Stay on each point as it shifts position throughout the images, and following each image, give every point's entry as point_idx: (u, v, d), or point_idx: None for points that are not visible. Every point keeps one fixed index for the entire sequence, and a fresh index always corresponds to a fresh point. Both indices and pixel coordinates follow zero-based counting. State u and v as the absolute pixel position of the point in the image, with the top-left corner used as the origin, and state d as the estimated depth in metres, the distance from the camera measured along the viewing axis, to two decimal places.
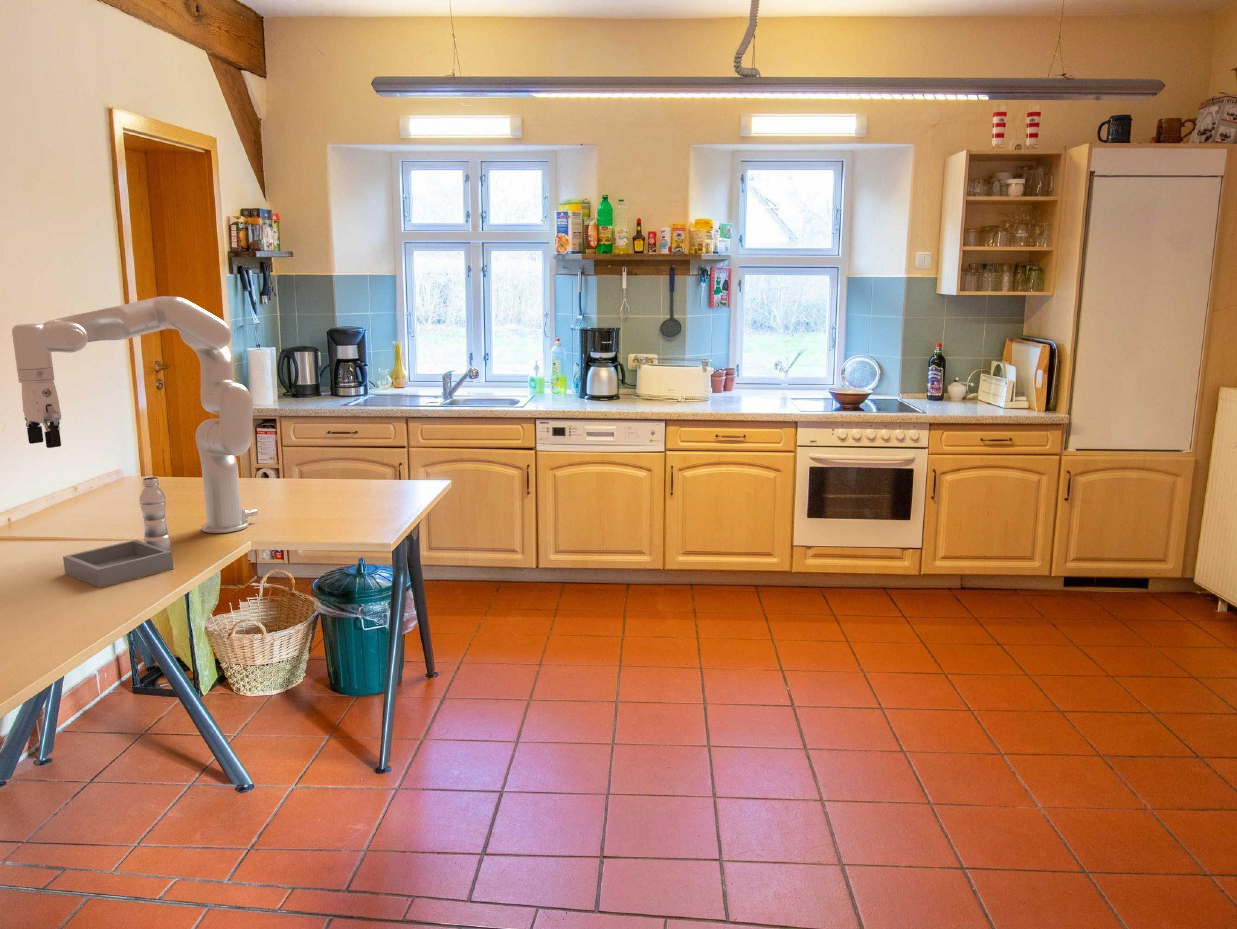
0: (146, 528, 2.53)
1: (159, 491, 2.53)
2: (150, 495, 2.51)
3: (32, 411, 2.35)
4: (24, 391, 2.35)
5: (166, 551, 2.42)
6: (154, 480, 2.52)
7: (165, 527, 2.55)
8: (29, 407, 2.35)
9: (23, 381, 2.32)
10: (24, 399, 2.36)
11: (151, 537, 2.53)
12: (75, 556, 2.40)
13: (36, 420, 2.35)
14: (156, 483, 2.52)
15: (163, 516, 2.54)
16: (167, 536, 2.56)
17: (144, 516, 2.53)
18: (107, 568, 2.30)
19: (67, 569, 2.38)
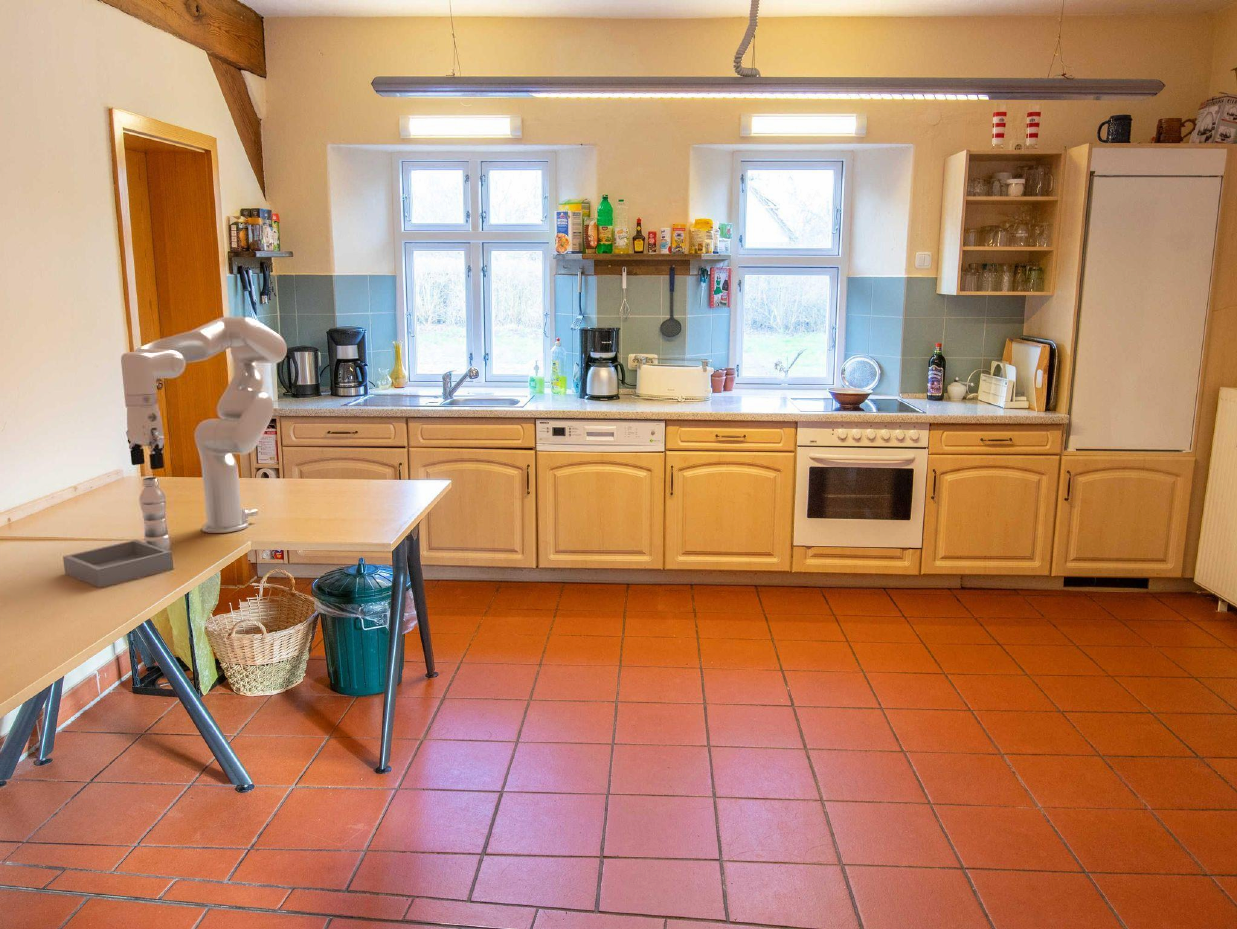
0: (146, 528, 2.53)
1: (159, 491, 2.53)
2: (150, 495, 2.51)
3: (137, 434, 2.48)
4: (130, 415, 2.48)
5: (166, 551, 2.42)
6: (154, 480, 2.52)
7: (165, 527, 2.55)
8: (134, 431, 2.48)
9: (130, 406, 2.45)
10: (129, 423, 2.49)
11: (151, 537, 2.53)
12: (75, 556, 2.40)
13: (141, 443, 2.48)
14: (156, 483, 2.52)
15: (163, 516, 2.54)
16: (167, 536, 2.56)
17: (144, 516, 2.53)
18: (107, 568, 2.30)
19: (67, 569, 2.38)
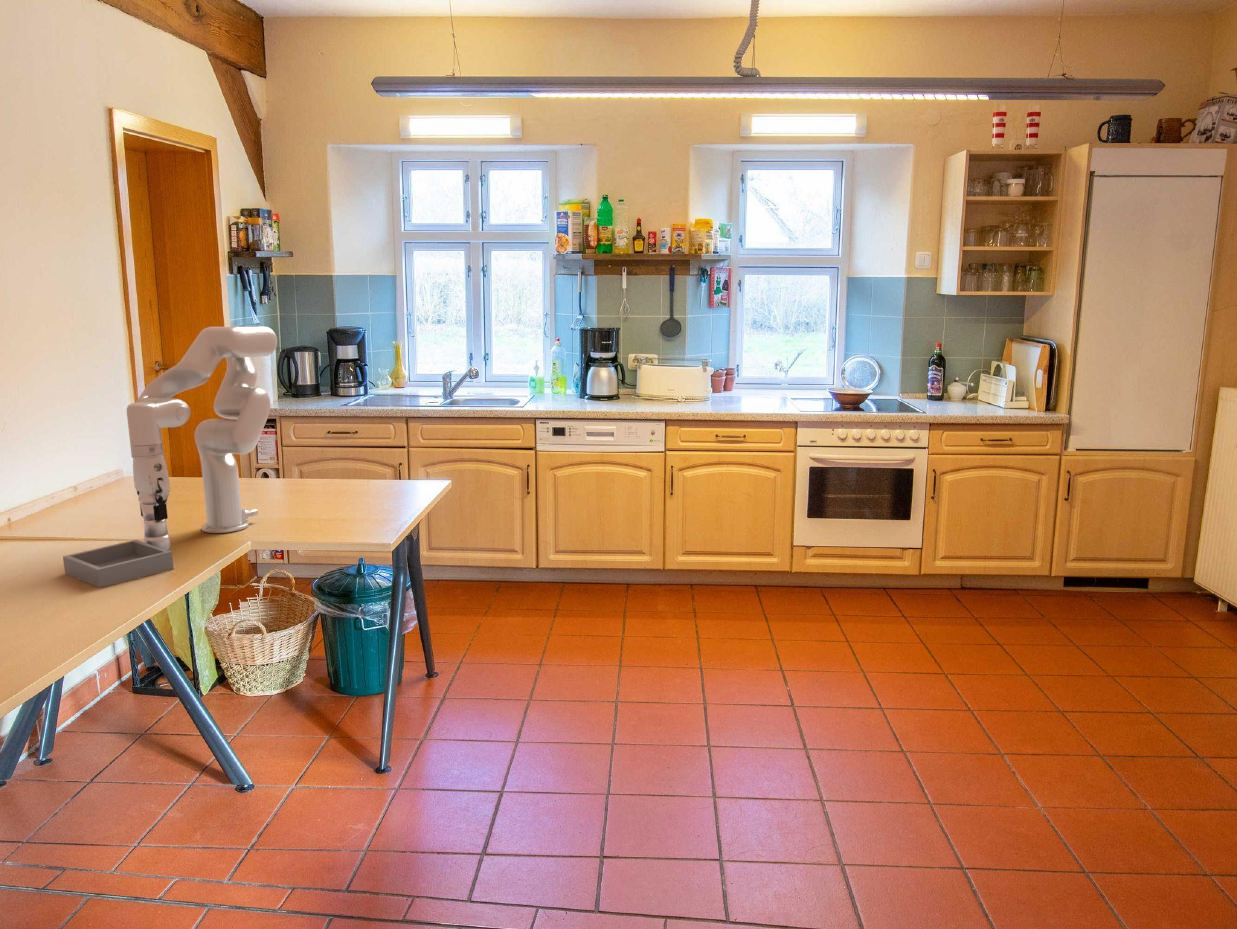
0: (146, 528, 2.53)
1: (159, 491, 2.53)
2: (150, 495, 2.51)
3: (144, 484, 2.50)
4: (136, 465, 2.51)
5: (166, 551, 2.42)
6: None
7: (165, 527, 2.55)
8: (141, 480, 2.51)
9: (136, 456, 2.48)
10: (136, 472, 2.52)
11: (151, 537, 2.53)
12: (75, 556, 2.40)
13: (147, 492, 2.51)
14: None
15: None
16: (167, 536, 2.56)
17: (144, 516, 2.53)
18: (107, 568, 2.30)
19: (67, 569, 2.38)
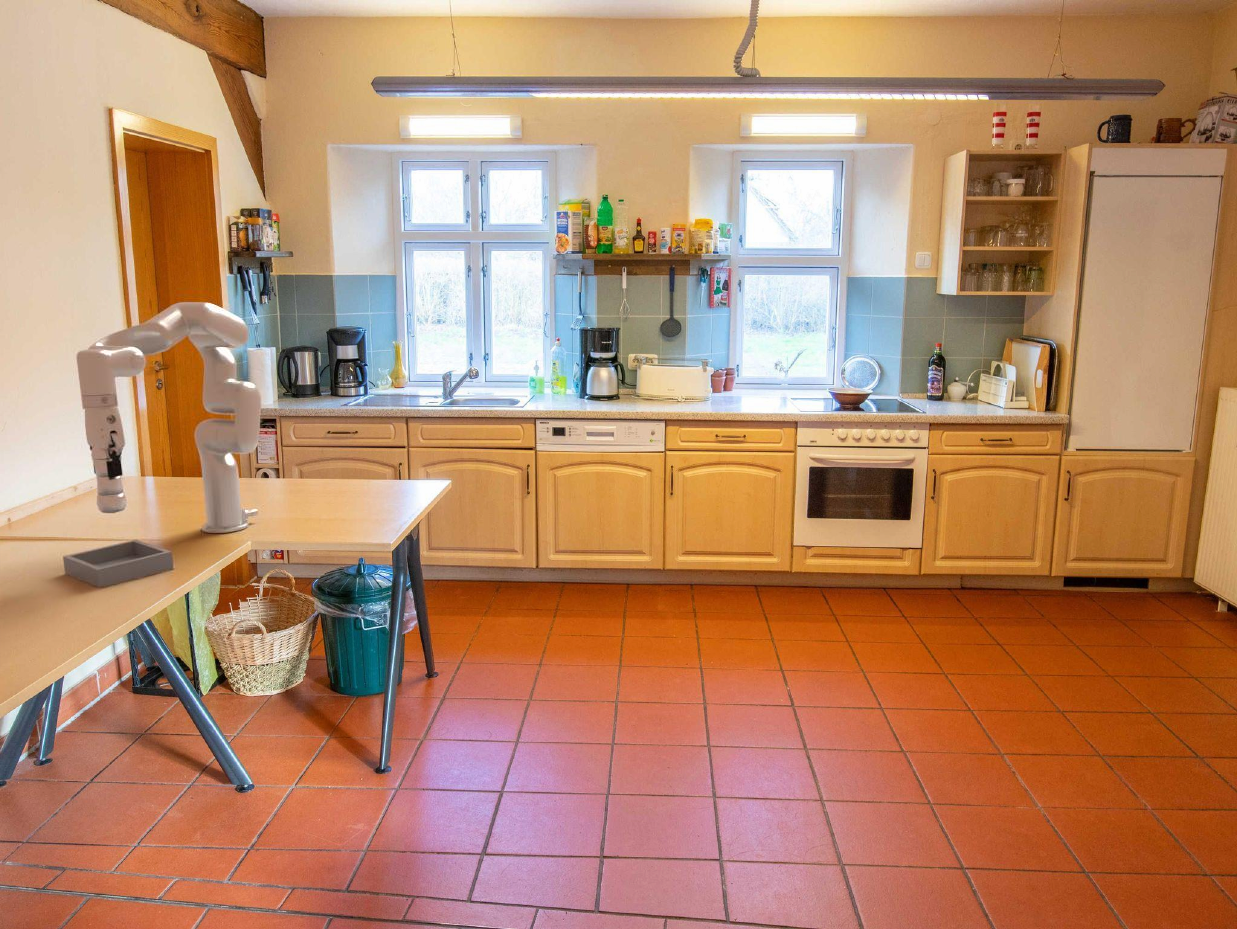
0: (99, 486, 2.34)
1: (113, 446, 2.34)
2: (103, 450, 2.32)
3: (96, 438, 2.32)
4: (88, 417, 2.32)
5: (166, 551, 2.42)
6: None
7: (120, 485, 2.37)
8: (93, 433, 2.32)
9: (87, 407, 2.29)
10: (87, 425, 2.33)
11: (104, 496, 2.35)
12: (75, 556, 2.40)
13: (100, 447, 2.32)
14: None
15: None
16: (122, 495, 2.37)
17: (97, 472, 2.34)
18: (107, 568, 2.30)
19: (67, 569, 2.38)
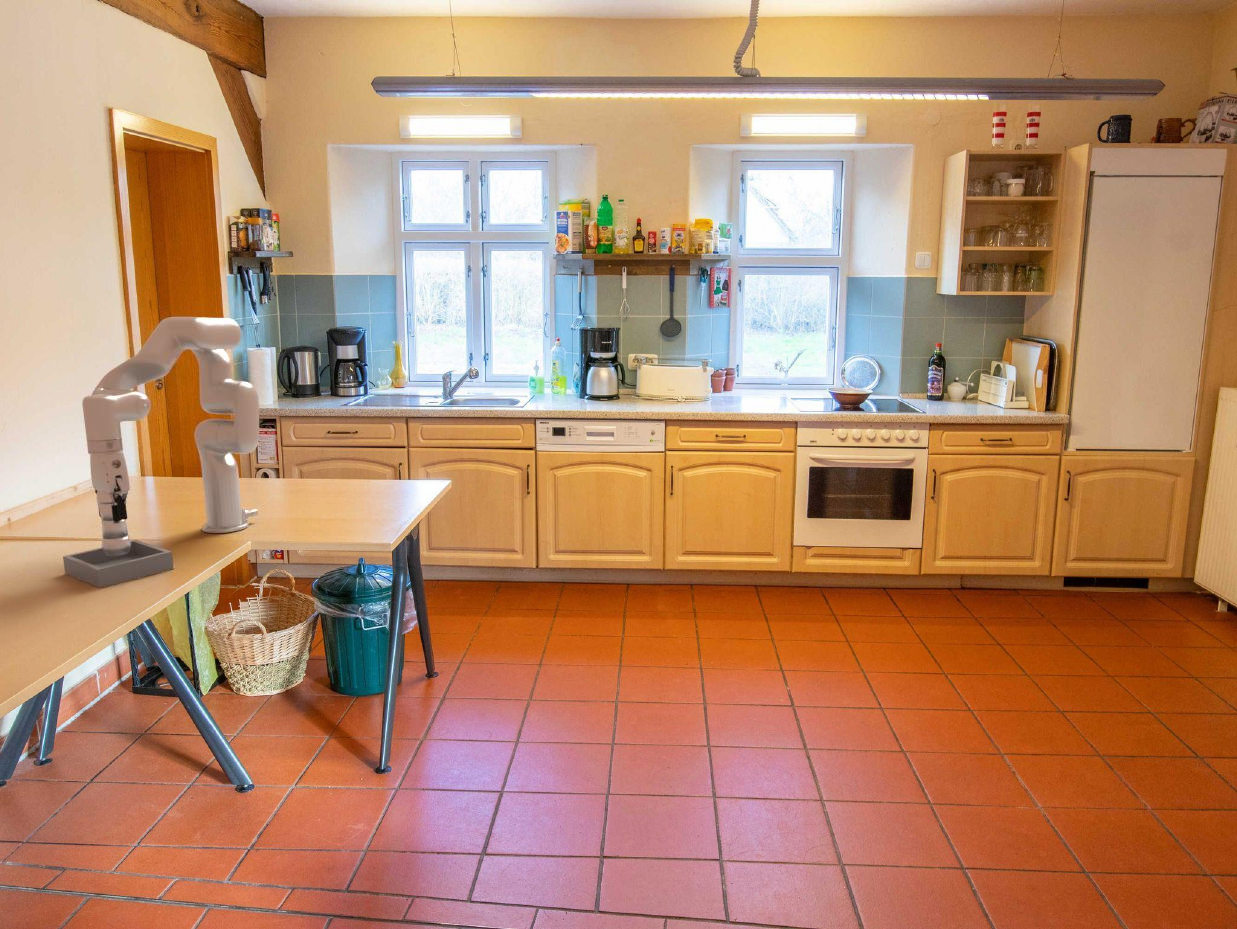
0: (104, 529, 2.37)
1: (118, 489, 2.36)
2: (108, 494, 2.35)
3: (101, 482, 2.34)
4: (93, 462, 2.35)
5: (166, 551, 2.42)
6: None
7: (125, 528, 2.39)
8: (98, 478, 2.34)
9: (93, 453, 2.31)
10: (93, 469, 2.36)
11: (109, 539, 2.37)
12: (75, 556, 2.40)
13: (105, 491, 2.34)
14: None
15: None
16: (127, 538, 2.39)
17: (102, 516, 2.36)
18: (107, 568, 2.30)
19: (67, 569, 2.38)
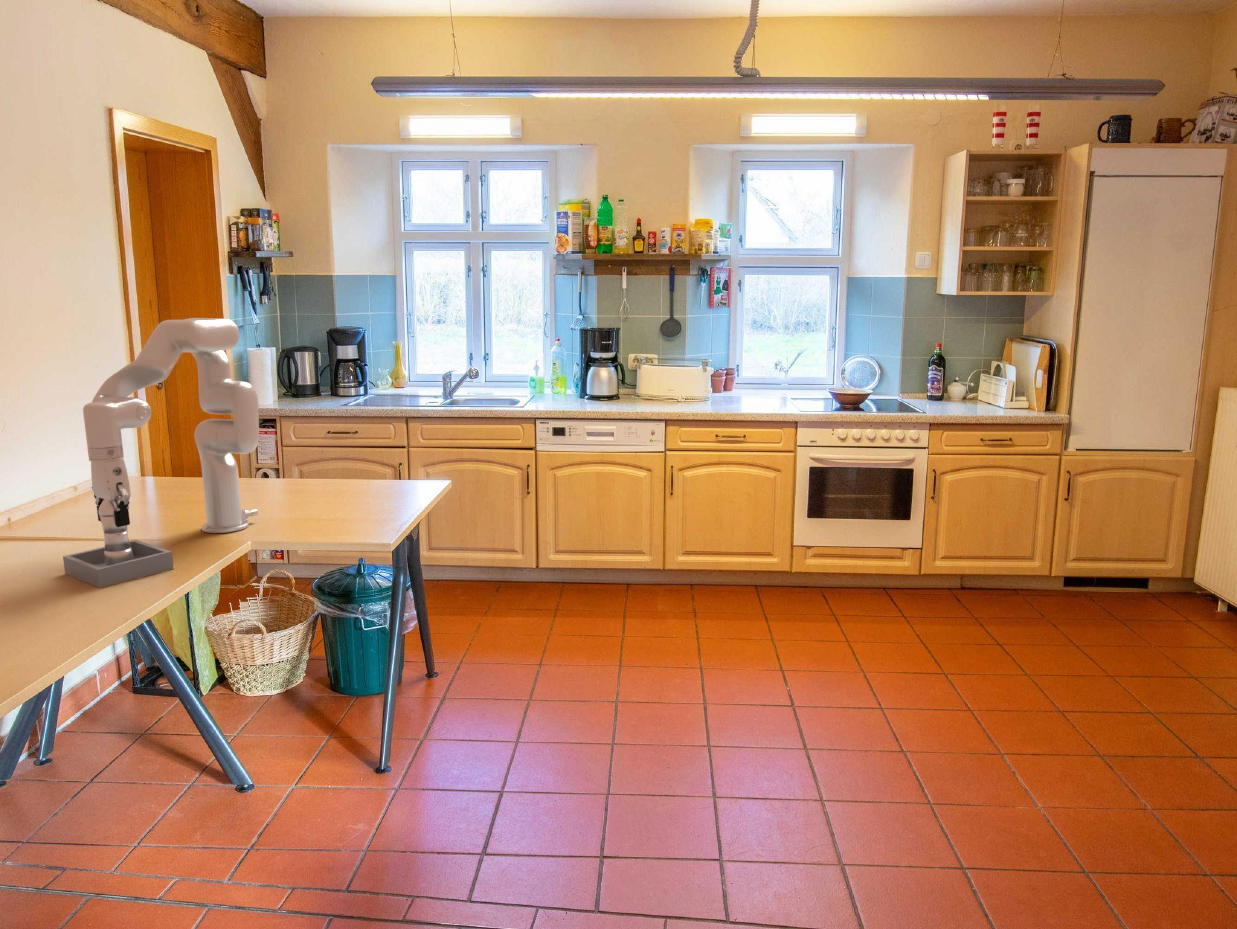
0: (106, 542, 2.37)
1: None
2: (110, 506, 2.35)
3: (102, 489, 2.34)
4: (94, 469, 2.35)
5: (166, 551, 2.42)
6: None
7: (127, 540, 2.40)
8: (99, 485, 2.35)
9: (94, 460, 2.32)
10: (94, 476, 2.36)
11: (111, 552, 2.37)
12: (75, 556, 2.40)
13: (106, 498, 2.34)
14: None
15: (124, 529, 2.39)
16: (129, 550, 2.40)
17: (104, 529, 2.37)
18: (107, 568, 2.30)
19: (67, 569, 2.38)
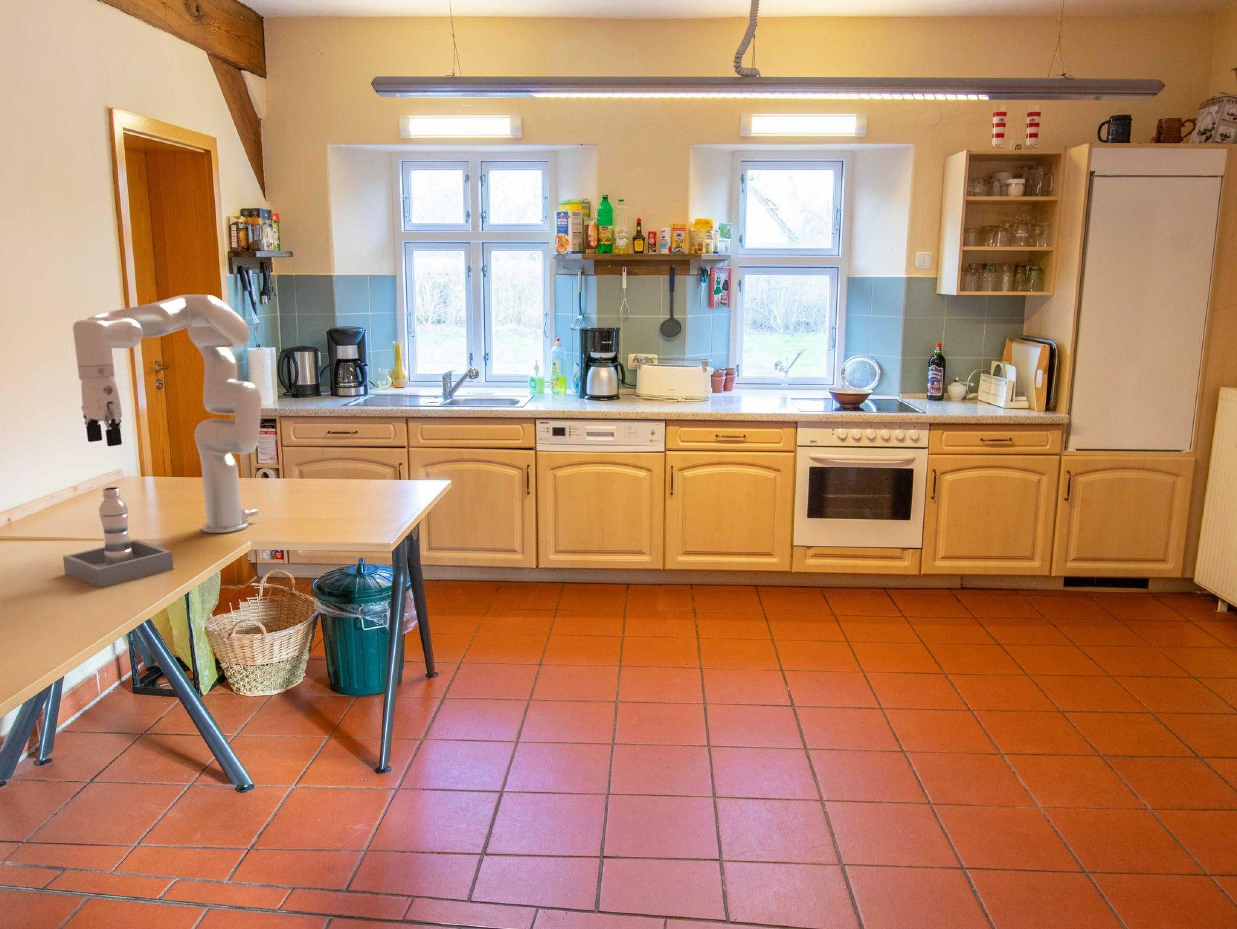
0: (106, 542, 2.37)
1: (120, 502, 2.37)
2: (110, 506, 2.35)
3: (93, 409, 2.30)
4: (84, 388, 2.31)
5: (166, 551, 2.42)
6: (114, 490, 2.36)
7: (127, 540, 2.40)
8: (89, 405, 2.31)
9: (84, 378, 2.28)
10: (84, 396, 2.32)
11: (111, 552, 2.37)
12: (75, 556, 2.40)
13: (97, 418, 2.31)
14: (117, 494, 2.37)
15: (124, 529, 2.39)
16: (129, 550, 2.40)
17: (104, 529, 2.37)
18: (107, 568, 2.30)
19: (67, 569, 2.38)
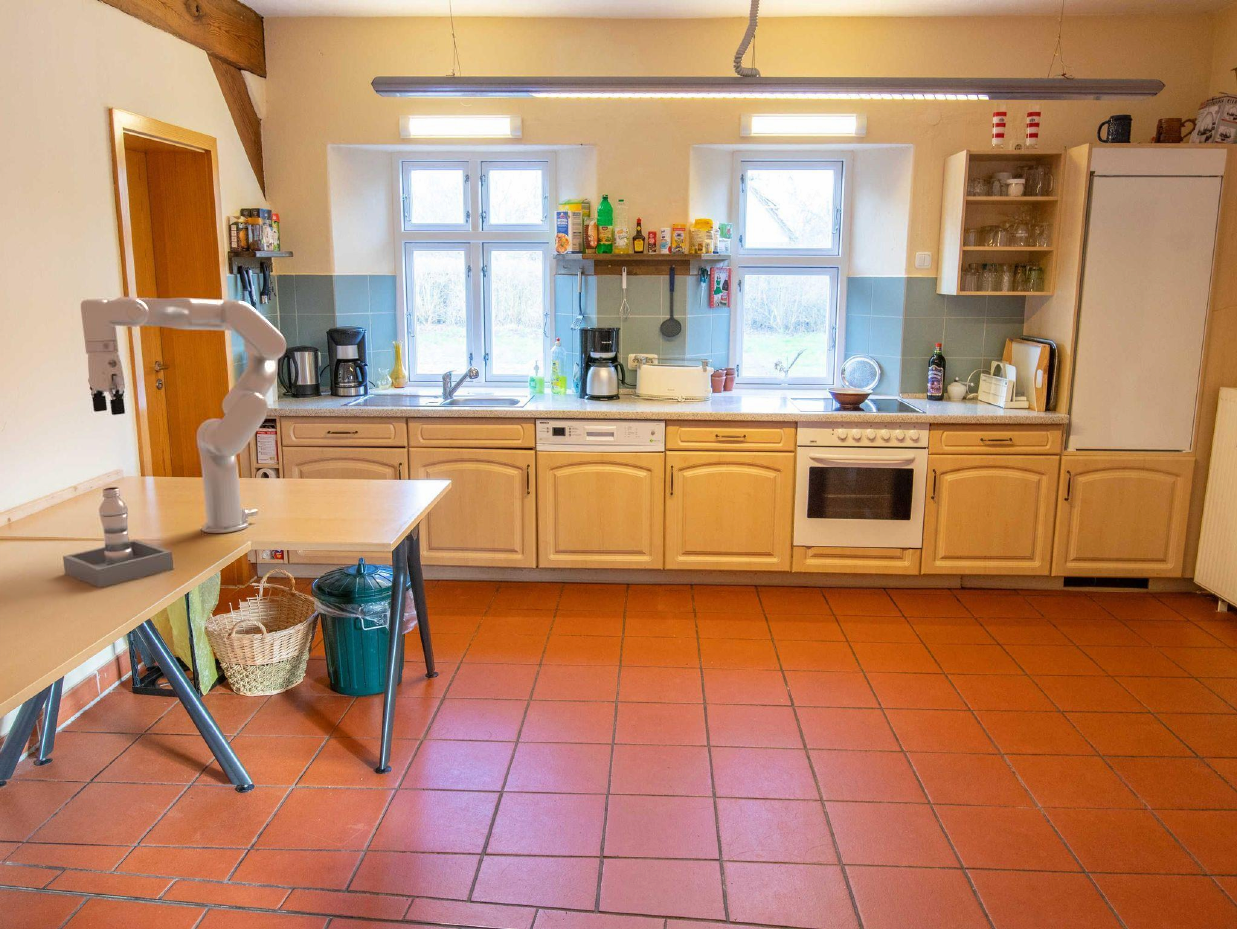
0: (106, 542, 2.37)
1: (120, 502, 2.37)
2: (110, 506, 2.35)
3: (98, 380, 2.52)
4: (91, 362, 2.52)
5: (166, 551, 2.42)
6: (114, 490, 2.36)
7: (127, 540, 2.40)
8: (95, 377, 2.52)
9: (91, 352, 2.49)
10: (90, 369, 2.53)
11: (111, 552, 2.37)
12: (75, 556, 2.40)
13: (102, 389, 2.52)
14: (117, 494, 2.37)
15: (124, 529, 2.39)
16: (129, 550, 2.40)
17: (104, 529, 2.37)
18: (107, 568, 2.30)
19: (67, 569, 2.38)
